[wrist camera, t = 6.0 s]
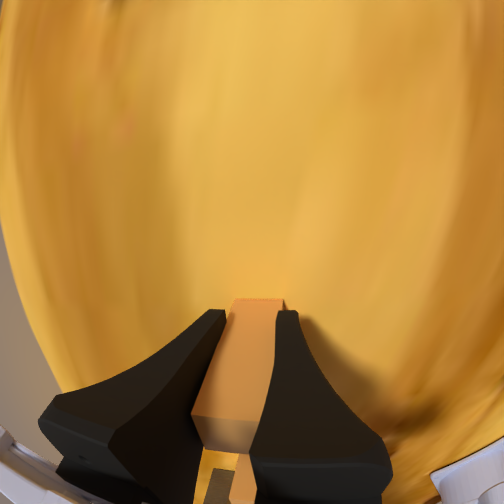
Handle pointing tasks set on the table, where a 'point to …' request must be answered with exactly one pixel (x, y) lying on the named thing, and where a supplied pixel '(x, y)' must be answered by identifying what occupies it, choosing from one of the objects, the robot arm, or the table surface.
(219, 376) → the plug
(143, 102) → the table surface
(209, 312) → the robot arm
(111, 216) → the table surface
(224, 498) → the housing
